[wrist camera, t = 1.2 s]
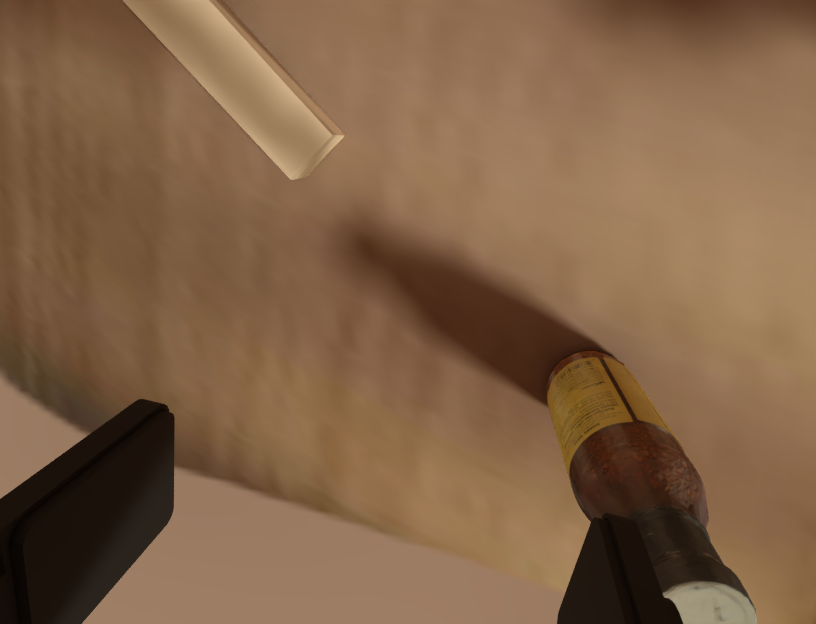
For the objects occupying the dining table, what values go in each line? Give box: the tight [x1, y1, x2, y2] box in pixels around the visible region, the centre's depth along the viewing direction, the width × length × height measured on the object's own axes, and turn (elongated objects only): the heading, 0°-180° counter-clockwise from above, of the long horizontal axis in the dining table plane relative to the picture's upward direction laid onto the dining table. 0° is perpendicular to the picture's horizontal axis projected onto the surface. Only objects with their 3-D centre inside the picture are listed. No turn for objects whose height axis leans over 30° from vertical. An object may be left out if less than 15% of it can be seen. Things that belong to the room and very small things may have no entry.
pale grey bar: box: [123, 0, 345, 180], centre depth 33 cm, size 4×20×3 cm, turn 44°
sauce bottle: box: [546, 351, 757, 624], centre depth 28 cm, size 7×6×20 cm
